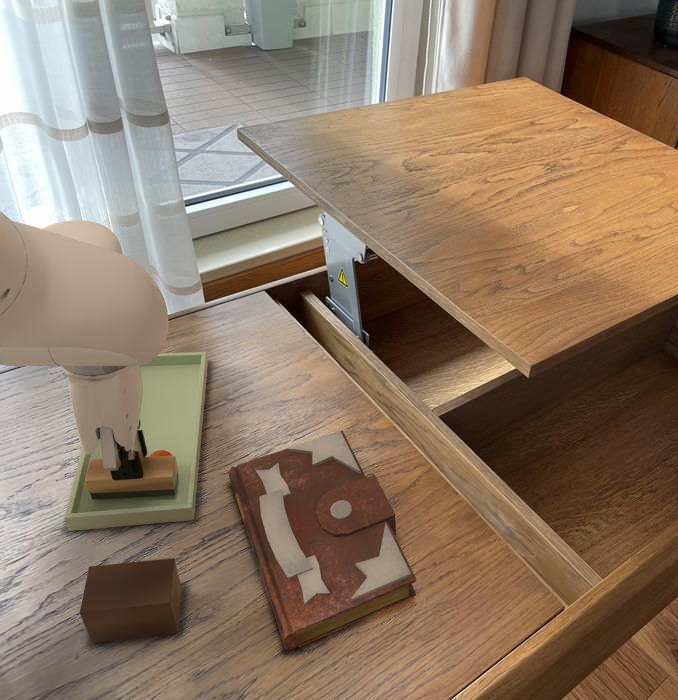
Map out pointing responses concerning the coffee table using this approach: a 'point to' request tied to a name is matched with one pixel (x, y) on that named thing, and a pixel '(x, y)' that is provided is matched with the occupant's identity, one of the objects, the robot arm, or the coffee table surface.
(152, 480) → the wooden block
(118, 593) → the stand
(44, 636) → the coffee table surface
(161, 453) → the orange-red sphere
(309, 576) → the book
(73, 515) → the tray
